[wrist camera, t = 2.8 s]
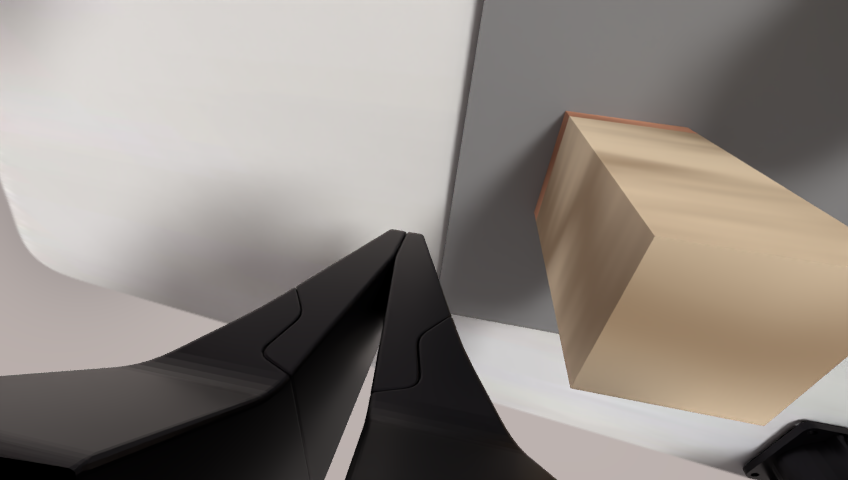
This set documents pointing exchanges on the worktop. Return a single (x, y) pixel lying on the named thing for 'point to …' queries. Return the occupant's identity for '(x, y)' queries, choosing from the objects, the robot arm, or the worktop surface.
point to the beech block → (687, 272)
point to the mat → (634, 116)
